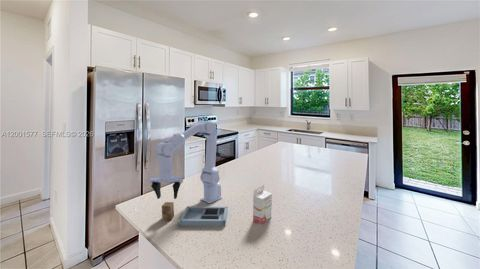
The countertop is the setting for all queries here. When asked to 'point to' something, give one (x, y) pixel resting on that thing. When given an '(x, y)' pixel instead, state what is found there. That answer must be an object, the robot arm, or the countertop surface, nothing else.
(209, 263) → the countertop surface
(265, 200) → the ink cartridge box
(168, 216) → the tan wooden block
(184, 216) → the blue shallow rectangular tray
